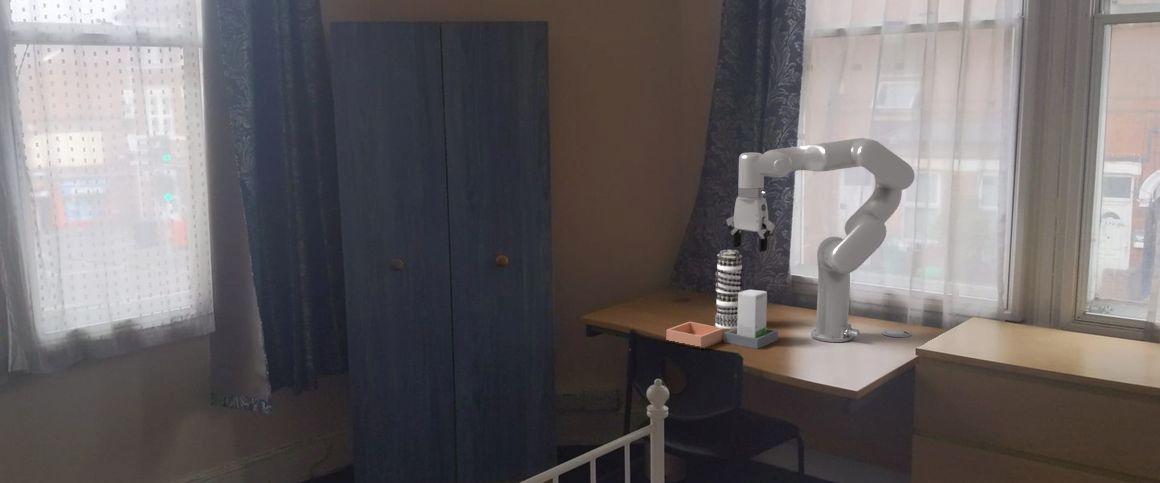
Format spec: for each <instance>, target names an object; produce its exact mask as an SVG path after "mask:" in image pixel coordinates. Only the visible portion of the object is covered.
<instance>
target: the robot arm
mask: <svg viewBox="0 0 1160 483" xmlns="http://www.w3.org/2000/svg"><path fill="white" fill-rule="evenodd" d="M856 167H857V168H859V167H862V168H864V169H865V170H867V171H868V172H870V174H872V175H873V176H874V184H875V185H874V190H873V192H872V194H871V195H870V197H869V198H868V199H867V200H866V201H865V202H864V203H863V204H862V205H861V206H860V207H859V208H858V209H857V210H856V211H855V212H853V214H851V215H850V217H849V218H848V219H847V221H846V222H845V225H844V233H845V235H846V236H845V237H844V238H842V237H840V236H829V237H827V238H826V237H825V239H823V240H822V241H821V242H820V243H819V246H818V249H817V252H816V256H817V258H816V259H817V269H818V277H817V285H818V286H817V296H816V298H817V303H816V322H815V323H816V325H815V326H816V327H815V329H813V330H811V332H810V336H811V338H813V339H814V340H818V341H822V342H827V343H843V342H849V341H852V340H853V337H855V338H859V337H860V333H861V332H860V329H856V328H852V323H849V312H850V311H849V309H850V308H849V307H850V293H851V292H850V289H851V273H853V272H855V271H856V270H857V269H858V268H860V266H862V265H863V264H864V263H865V262H866V261H867V260H868V259H869V258H870V257H872V255H873V254H874V253H875V252H876V251H877V250H878V249H879V248H880V247H881V245H882V244H883V243H884V241H885V240H886V236H887V226H886V222H887V221H888V220H889V219H890V218H891V217H892V216H893V215H894V213H895V212H896V211H897V209H898V207H899V206H900V204H901V200H902V194H903V191H904V190H907V189H908V188H910V187H911V186H912V185H913V183H914V180H915V172H914V171H915V170H914V169H913V167H912V166H911V165H910V164H909V163H908V162H906V161H905V160H904V159H902V158H901V157H900V156H898V155H897V154H896V153H895V152H893V151H891V150H890V149H888V148H887V147H886V146H885V145H883V144H882V143H880V142H879V141H877V140H875V139H870V138H865V137H861V138H860V137H858V138H852V139H844V140H838V141H830V142H822V143H815V144H808V145H807V144H806V145H800V146H790V147H785V148H784V147H783V148H775V149H770V150H767V151H765V152H764V153H761V152H752V151H751V152H742V153H741V154H740V155H739V157H738V180H737V181H738V184H737V185H738V190H737V191H738V193H737V194H738V195H737V196H736V199H735V204H734V212H733V216H730V217H728V218H727V219H726V220H725V222H726V224H727V226H728V230H729V231H730V234H731V235H732V248H739V247H741V246H742V235H741V234H742V233H741V232H742V231H745V232H746V231H747V232H754V233H757V234H758V235H759V237H760V238H759V239H758V251H759V252H767V251H768V239H769V238H770V236H771V235H772V234H773V232H774V229H775V227H776V225H775V224H774V223H773V222H772V221H771V220H769V211H768V203H767V198H764V197H765V196H766V195H767V191H766V190H764V185H765V184H764V183H765V182H764V181H765V179H764V178H765V177H771V178H784V177H786V176H787V175H788V174H789V173H791V172H796V171H810V172H829V171H836V170H843V169H851V168H856Z"/></svg>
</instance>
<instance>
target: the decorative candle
mask: <svg viewBox="0 0 1160 483" xmlns="http://www.w3.org/2000/svg"><path fill="white" fill-rule="evenodd" d="M716 256H717V265H716V267H715V269H714V270H715V271H716V272H715V273H714V274H715V278H714V279H715V282H716V283H715V284H714V285H715V291H716V292H717V295H716V297H717V298H716V303H715V312H716V313H715V314H714V317H715V319H714V321H715V323H714V326H715V327H720V328H724V330H732V329H735V328H737V319H738V293H740V292H742V291H743V288H741V287H743V286H744V284H743V283H742V282H743V281H744V279H742V276H744V275H745V274H744V273H743V271H745V269H744V268H743V264H742V257H743V255H742V254H741V253H740V252H739V250H736V249H723V250H720V252H719V253H718V254H717V255H716Z"/></svg>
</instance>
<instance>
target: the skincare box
mask: <svg viewBox="0 0 1160 483" xmlns="http://www.w3.org/2000/svg"><path fill="white" fill-rule="evenodd" d="M767 305H768V291H765V290H757V289H746V290H742V292H740V293H738V319H737V335H742V336H747V337H752V338H759V337H761V336H763V335H766V328H767V308H768V307H767Z"/></svg>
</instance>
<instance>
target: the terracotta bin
mask: <svg viewBox="0 0 1160 483" xmlns="http://www.w3.org/2000/svg"><path fill="white" fill-rule="evenodd" d="M724 330H725V329H724V328H720V327H716V326H715V325H714V326H713V325H710V324H709V325H708V324H703V323H699V322H694V321H688V322H685V323H681V324H678V325H676V326H673V327H670V328H668V329H666V330H665V332H666V334H665V335H666V339H665V340H669V341H675V342H679V343H685V344H690V345H695V346H700V347H707V348H709V347H711V345H712V346H714V345H717V344H719V343H722V342H724V333H725V332H724ZM708 346H709V347H708Z"/></svg>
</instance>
